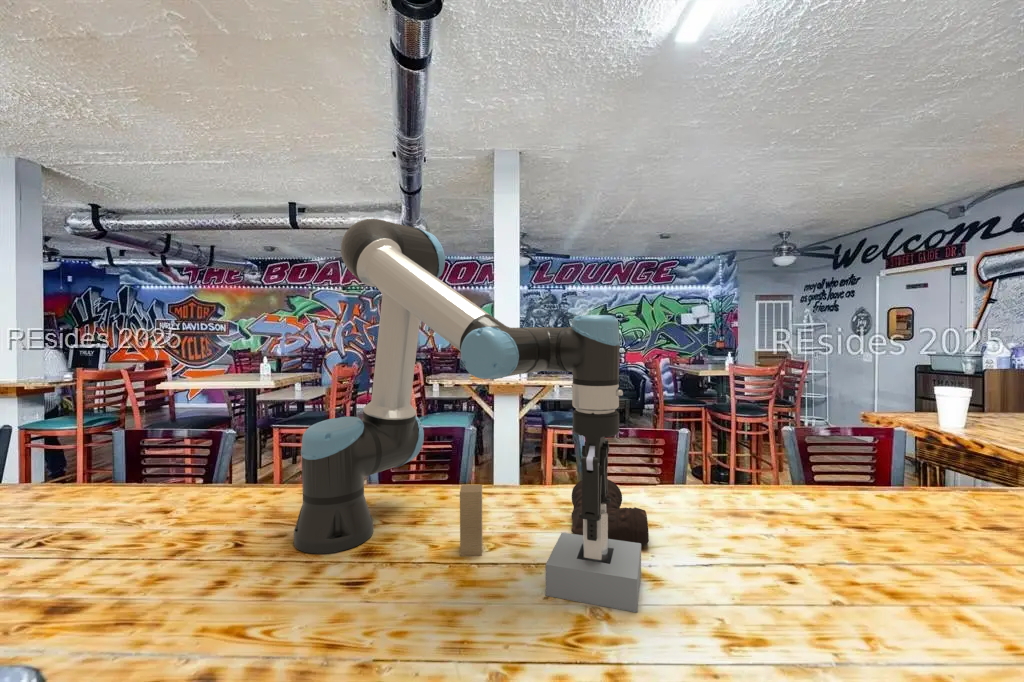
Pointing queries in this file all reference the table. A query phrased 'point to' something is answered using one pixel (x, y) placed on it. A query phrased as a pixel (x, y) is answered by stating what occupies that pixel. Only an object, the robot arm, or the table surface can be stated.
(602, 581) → the socket block
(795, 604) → the table surface
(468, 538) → the square bit
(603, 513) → the cylinder
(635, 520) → the pipe
